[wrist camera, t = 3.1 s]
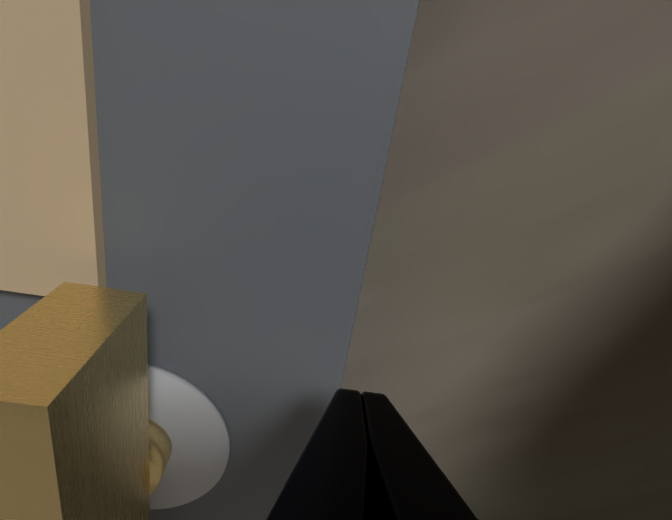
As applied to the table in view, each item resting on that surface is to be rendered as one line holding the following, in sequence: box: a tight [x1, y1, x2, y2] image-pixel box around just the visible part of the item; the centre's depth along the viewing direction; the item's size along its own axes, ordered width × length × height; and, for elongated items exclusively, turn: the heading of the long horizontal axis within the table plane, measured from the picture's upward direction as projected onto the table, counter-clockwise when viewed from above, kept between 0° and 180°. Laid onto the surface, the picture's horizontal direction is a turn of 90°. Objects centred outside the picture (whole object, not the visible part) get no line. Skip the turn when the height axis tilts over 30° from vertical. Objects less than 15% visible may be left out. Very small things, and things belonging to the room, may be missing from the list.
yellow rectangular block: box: [0, 282, 172, 520], centre depth 8 cm, size 2×9×4 cm, turn 171°
